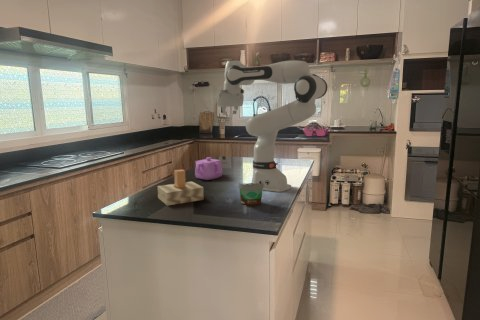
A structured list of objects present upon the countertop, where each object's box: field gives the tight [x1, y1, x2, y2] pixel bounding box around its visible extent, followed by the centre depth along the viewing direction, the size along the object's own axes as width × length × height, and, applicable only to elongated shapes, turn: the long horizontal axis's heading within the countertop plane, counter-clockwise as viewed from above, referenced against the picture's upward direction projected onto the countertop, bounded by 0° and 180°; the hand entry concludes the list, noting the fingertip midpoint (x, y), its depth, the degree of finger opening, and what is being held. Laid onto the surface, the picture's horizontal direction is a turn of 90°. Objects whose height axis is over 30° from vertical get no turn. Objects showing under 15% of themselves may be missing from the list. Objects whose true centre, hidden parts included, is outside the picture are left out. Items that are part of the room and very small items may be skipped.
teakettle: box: [194, 156, 223, 181], centre depth 208 cm, size 17×17×12 cm
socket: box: [157, 181, 205, 206], centre depth 162 cm, size 18×14×6 cm
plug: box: [173, 169, 186, 189], centre depth 161 cm, size 4×4×14 cm
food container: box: [237, 181, 264, 207], centre depth 152 cm, size 12×6×10 cm, turn 105°
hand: (229, 114), depth 193 cm, fingers open, 8 cm apart
